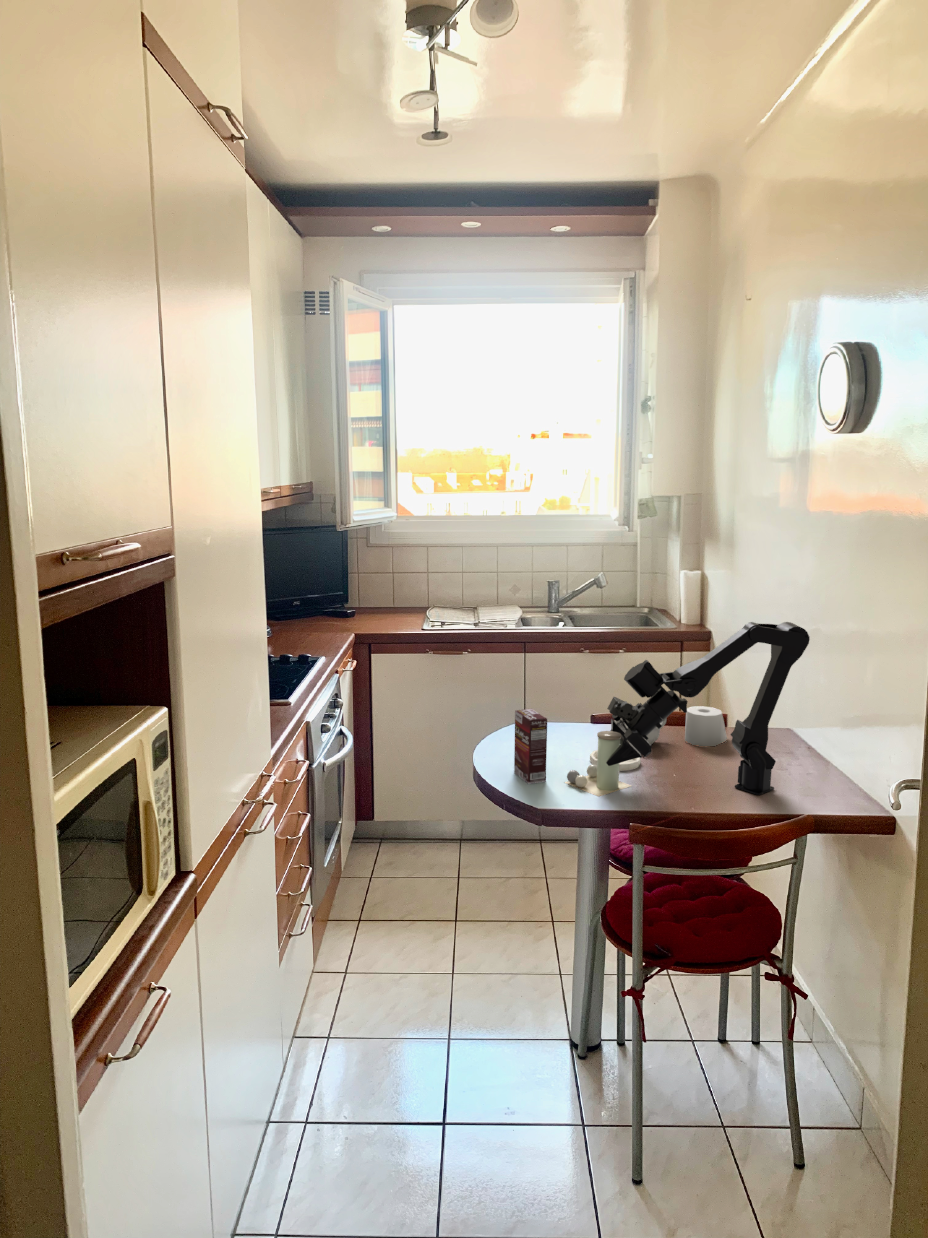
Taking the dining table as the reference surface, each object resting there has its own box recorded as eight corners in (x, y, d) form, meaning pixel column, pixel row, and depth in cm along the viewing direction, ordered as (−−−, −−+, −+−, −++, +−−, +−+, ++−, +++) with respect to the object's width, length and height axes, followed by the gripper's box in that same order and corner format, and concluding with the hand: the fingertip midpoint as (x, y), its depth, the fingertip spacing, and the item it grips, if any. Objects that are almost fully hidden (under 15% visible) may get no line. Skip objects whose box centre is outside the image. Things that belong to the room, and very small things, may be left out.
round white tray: (649, 765, 217) (650, 757, 217) (616, 775, 210) (616, 767, 210) (613, 752, 227) (613, 745, 226) (580, 762, 219) (580, 754, 219)
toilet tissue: (733, 739, 239) (735, 708, 238) (707, 749, 230) (709, 717, 229) (704, 731, 246) (706, 701, 244) (677, 741, 237) (679, 710, 235)
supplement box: (512, 773, 211) (514, 709, 208) (531, 771, 213) (532, 708, 210) (527, 786, 203) (529, 719, 200) (546, 783, 205) (548, 717, 202)
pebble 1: (582, 783, 204) (582, 771, 203) (573, 786, 202) (573, 773, 201) (573, 779, 206) (573, 767, 206) (564, 782, 204) (564, 770, 204)
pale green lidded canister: (624, 787, 201) (626, 735, 199) (608, 792, 198) (610, 739, 196) (606, 781, 205) (608, 729, 203) (590, 786, 202) (592, 733, 200)
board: (631, 787, 202) (632, 786, 202) (598, 798, 196) (598, 796, 196) (597, 774, 211) (597, 772, 211) (564, 784, 204) (564, 782, 204)
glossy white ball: (601, 777, 208) (602, 765, 207) (593, 780, 206) (593, 768, 205) (592, 774, 210) (593, 762, 210) (583, 776, 208) (584, 764, 208)
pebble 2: (589, 787, 201) (590, 775, 201) (581, 790, 199) (581, 778, 199) (580, 784, 203) (581, 772, 203) (572, 786, 202) (572, 775, 201)
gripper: (622, 676, 207) (574, 721, 209) (639, 697, 188) (586, 746, 190) (654, 709, 208) (605, 753, 210) (673, 733, 190) (620, 781, 192)
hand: (603, 757), depth 200 cm, fingers open, 9 cm apart
